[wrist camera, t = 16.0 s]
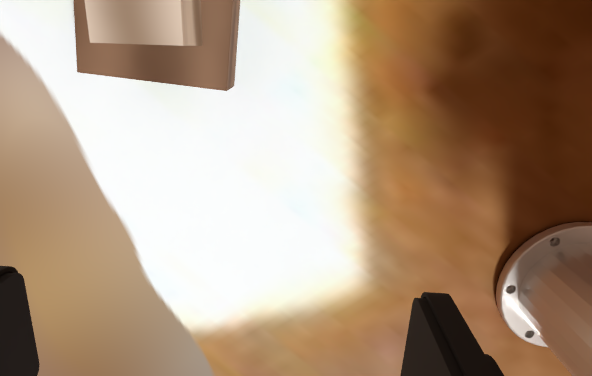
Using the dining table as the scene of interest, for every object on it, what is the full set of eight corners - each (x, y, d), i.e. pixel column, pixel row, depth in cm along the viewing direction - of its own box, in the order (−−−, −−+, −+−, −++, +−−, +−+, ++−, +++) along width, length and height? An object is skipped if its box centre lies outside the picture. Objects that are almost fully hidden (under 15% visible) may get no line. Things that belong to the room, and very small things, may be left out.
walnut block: (245, -62, 28) (238, -79, 24) (234, 85, 31) (226, 90, 28) (98, -83, 28) (68, -104, 24) (103, 68, 31) (77, 71, 27)
